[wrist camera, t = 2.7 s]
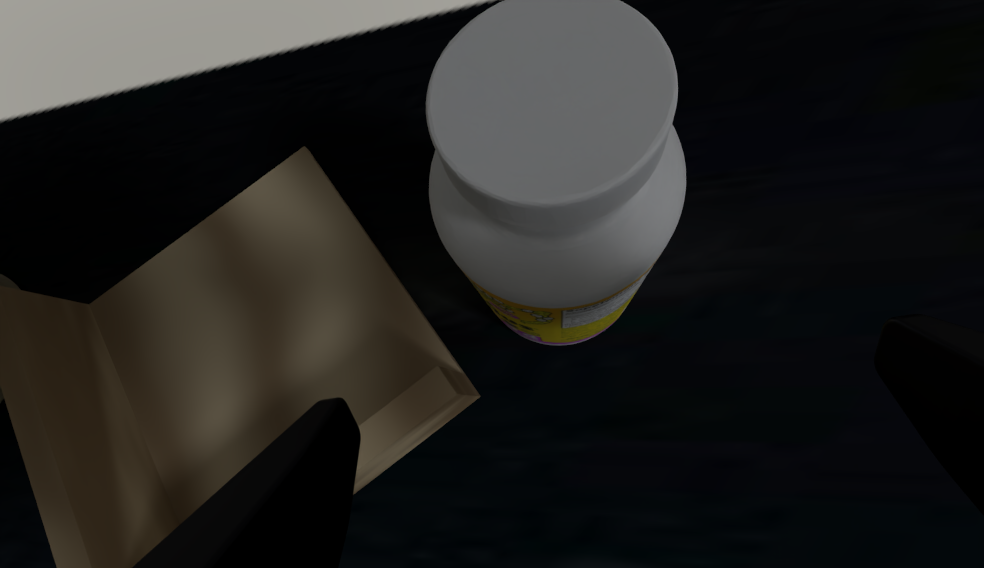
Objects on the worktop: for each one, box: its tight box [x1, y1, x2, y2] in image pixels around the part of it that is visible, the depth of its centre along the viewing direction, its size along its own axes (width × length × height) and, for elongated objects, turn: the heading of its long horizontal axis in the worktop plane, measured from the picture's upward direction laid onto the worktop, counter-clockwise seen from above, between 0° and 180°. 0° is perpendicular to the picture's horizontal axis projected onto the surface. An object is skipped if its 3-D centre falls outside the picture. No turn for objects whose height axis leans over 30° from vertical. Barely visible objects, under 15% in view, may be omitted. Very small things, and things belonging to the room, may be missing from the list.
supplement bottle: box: [426, 0, 686, 345], centre depth 14 cm, size 7×7×13 cm
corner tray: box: [0, 146, 481, 568], centre depth 20 cm, size 15×16×4 cm
